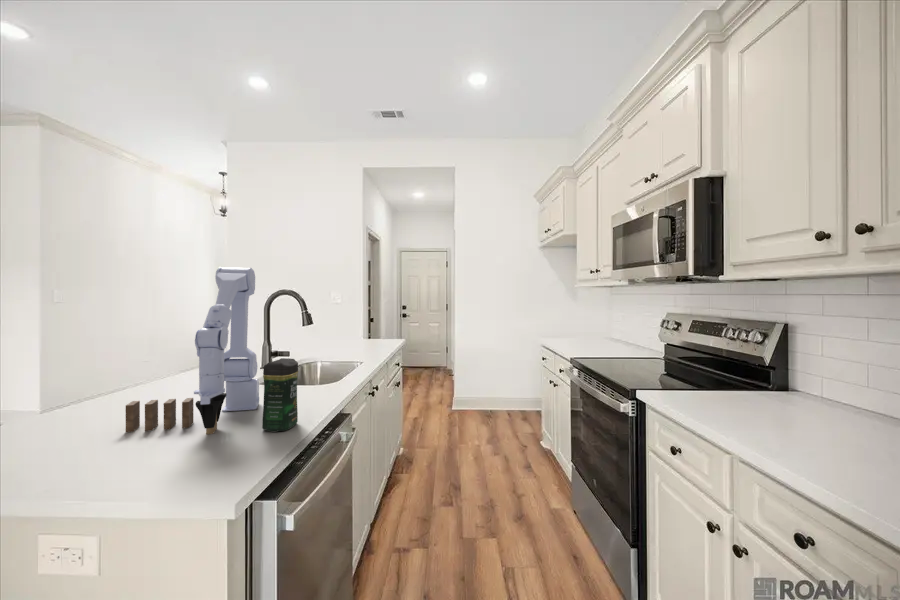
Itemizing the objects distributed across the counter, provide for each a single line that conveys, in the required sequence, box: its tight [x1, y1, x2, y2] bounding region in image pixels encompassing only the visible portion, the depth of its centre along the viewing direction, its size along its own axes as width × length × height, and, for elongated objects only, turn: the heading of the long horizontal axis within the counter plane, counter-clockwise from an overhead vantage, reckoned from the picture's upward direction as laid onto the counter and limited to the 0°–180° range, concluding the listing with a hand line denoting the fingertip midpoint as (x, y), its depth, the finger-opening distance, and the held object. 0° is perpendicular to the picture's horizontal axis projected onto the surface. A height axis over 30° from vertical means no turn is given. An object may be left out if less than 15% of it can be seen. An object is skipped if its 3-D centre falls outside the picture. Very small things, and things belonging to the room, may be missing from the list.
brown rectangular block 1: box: [144, 399, 159, 432], centre depth 113 cm, size 2×4×7 cm, turn 18°
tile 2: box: [181, 397, 194, 429], centre depth 116 cm, size 2×4×7 cm, turn 18°
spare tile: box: [205, 415, 218, 435], centre depth 111 cm, size 2×4×7 cm, turn 18°
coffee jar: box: [261, 357, 299, 433], centre depth 115 cm, size 10×8×19 cm
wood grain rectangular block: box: [125, 400, 141, 433], centre depth 112 cm, size 2×4×7 cm, turn 18°
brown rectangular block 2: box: [163, 398, 177, 430], centre depth 115 cm, size 2×4×7 cm, turn 18°
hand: (211, 424), depth 111 cm, fingers closed on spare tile, 4 cm apart
